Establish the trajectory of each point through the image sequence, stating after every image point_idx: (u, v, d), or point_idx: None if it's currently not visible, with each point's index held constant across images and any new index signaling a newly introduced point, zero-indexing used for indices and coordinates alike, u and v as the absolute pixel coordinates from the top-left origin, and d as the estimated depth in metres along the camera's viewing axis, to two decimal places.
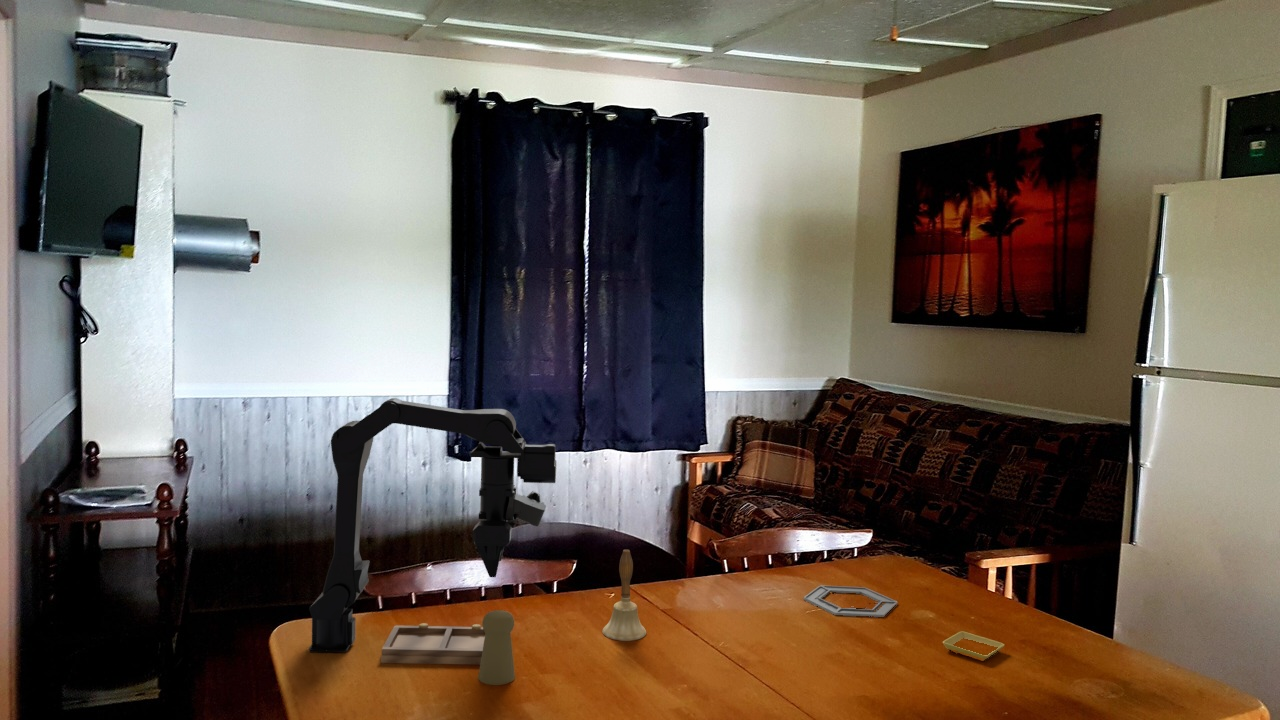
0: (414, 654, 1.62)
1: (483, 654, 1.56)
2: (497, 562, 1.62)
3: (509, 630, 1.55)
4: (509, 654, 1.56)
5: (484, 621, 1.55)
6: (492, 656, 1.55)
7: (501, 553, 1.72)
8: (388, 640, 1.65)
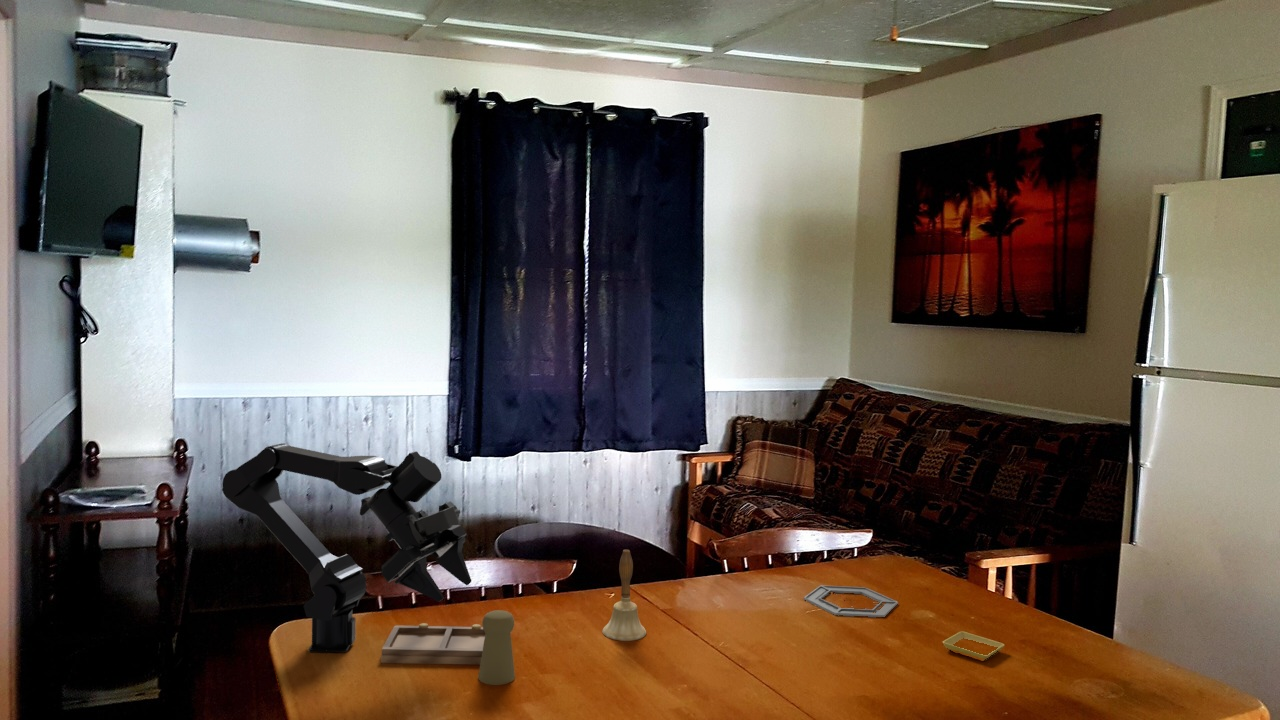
0: (414, 654, 1.62)
1: (483, 654, 1.56)
2: (431, 584, 1.54)
3: (509, 630, 1.55)
4: (509, 654, 1.56)
5: (484, 621, 1.55)
6: (492, 656, 1.55)
7: (466, 575, 1.63)
8: (388, 640, 1.65)
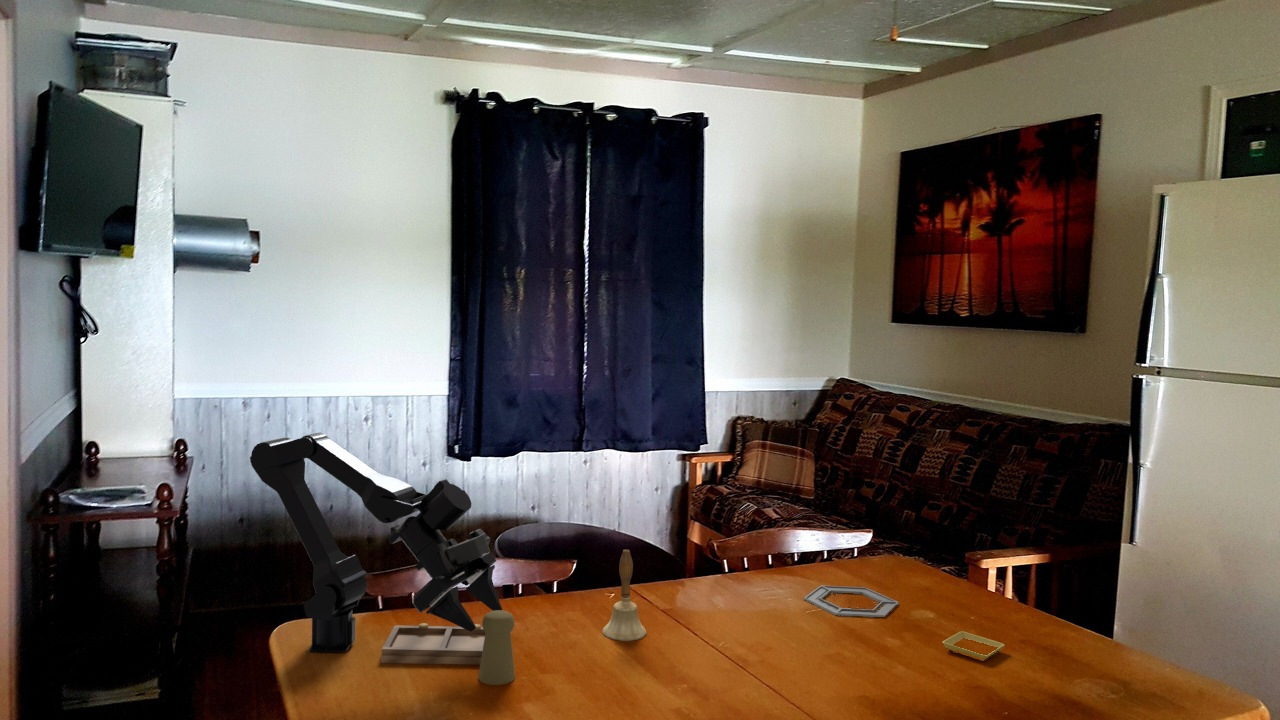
0: (414, 654, 1.62)
1: (483, 654, 1.56)
2: (463, 614, 1.52)
3: (509, 630, 1.55)
4: (509, 654, 1.56)
5: (484, 621, 1.55)
6: (492, 656, 1.55)
7: (496, 603, 1.61)
8: (388, 640, 1.65)
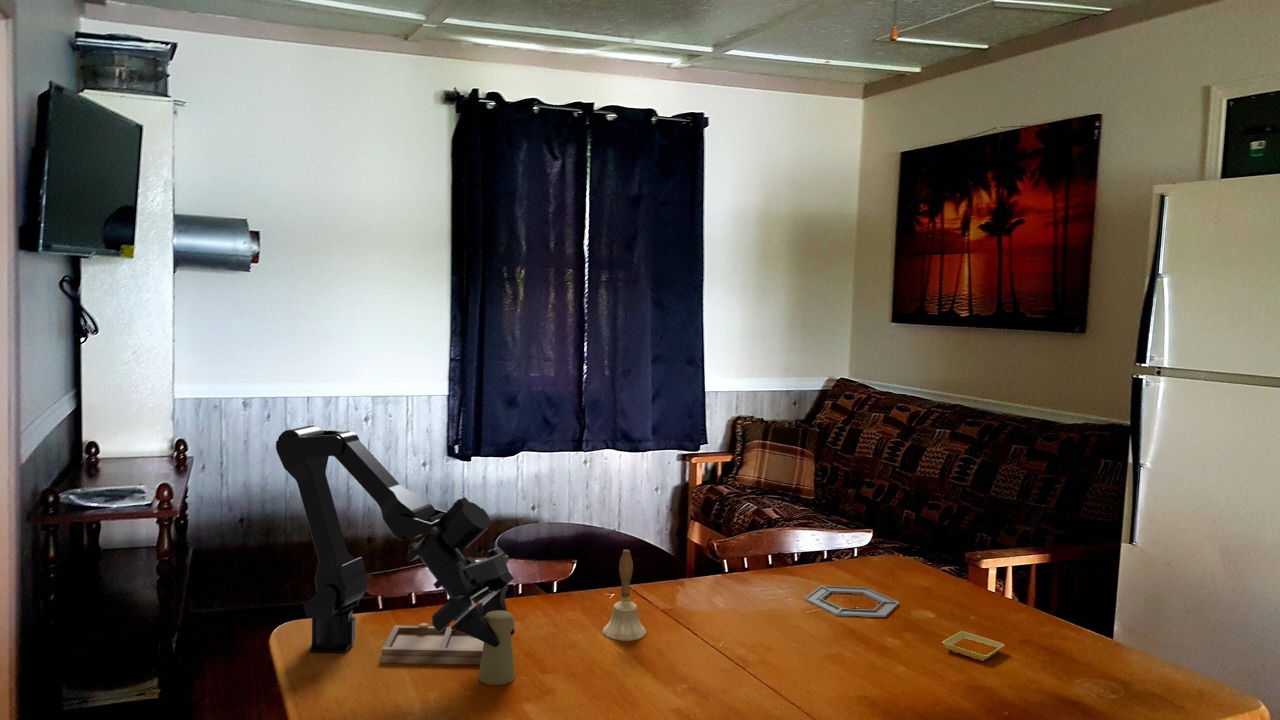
0: (414, 654, 1.62)
1: (483, 654, 1.56)
2: (487, 630, 1.53)
3: (509, 630, 1.55)
4: (509, 654, 1.56)
5: None
6: (492, 656, 1.55)
7: None
8: (388, 640, 1.65)
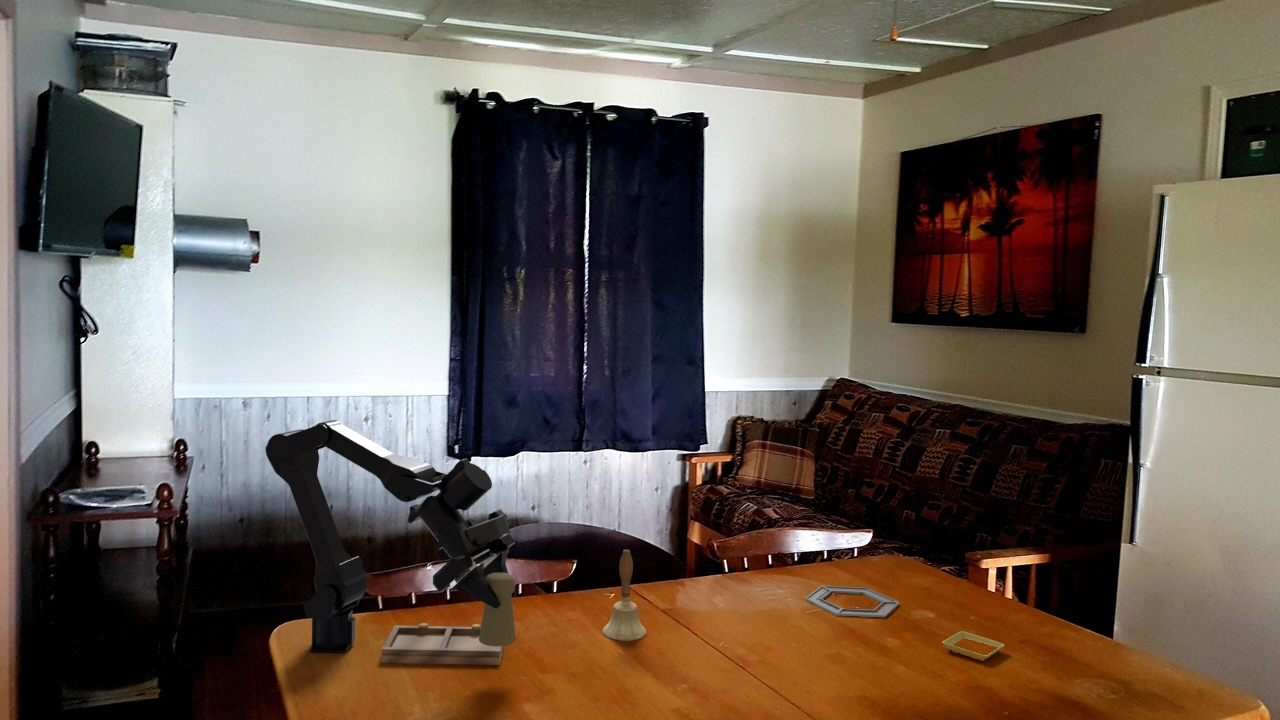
0: (414, 654, 1.62)
1: (484, 616, 1.55)
2: (488, 591, 1.53)
3: (510, 591, 1.55)
4: (510, 616, 1.55)
5: None
6: (493, 618, 1.54)
7: None
8: (388, 640, 1.65)
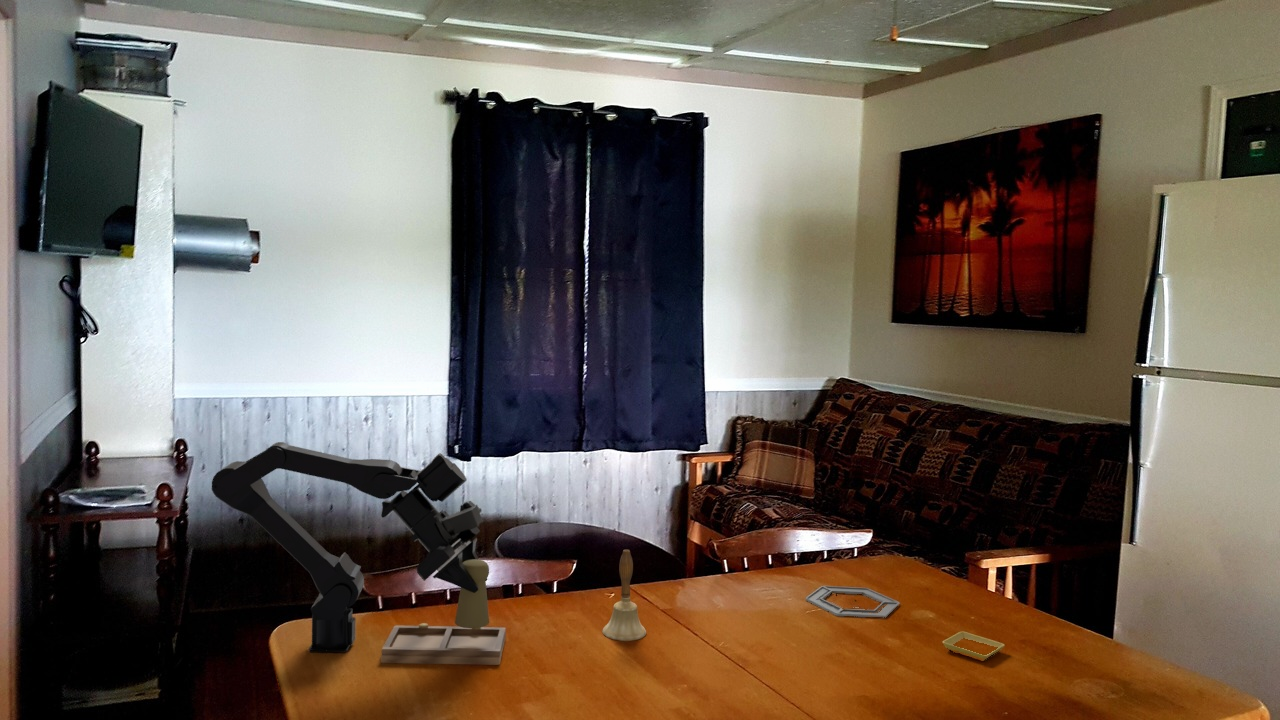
0: (414, 654, 1.62)
1: (461, 600, 1.66)
2: (467, 577, 1.63)
3: (486, 576, 1.66)
4: (485, 599, 1.67)
5: None
6: (470, 601, 1.65)
7: None
8: (388, 640, 1.65)
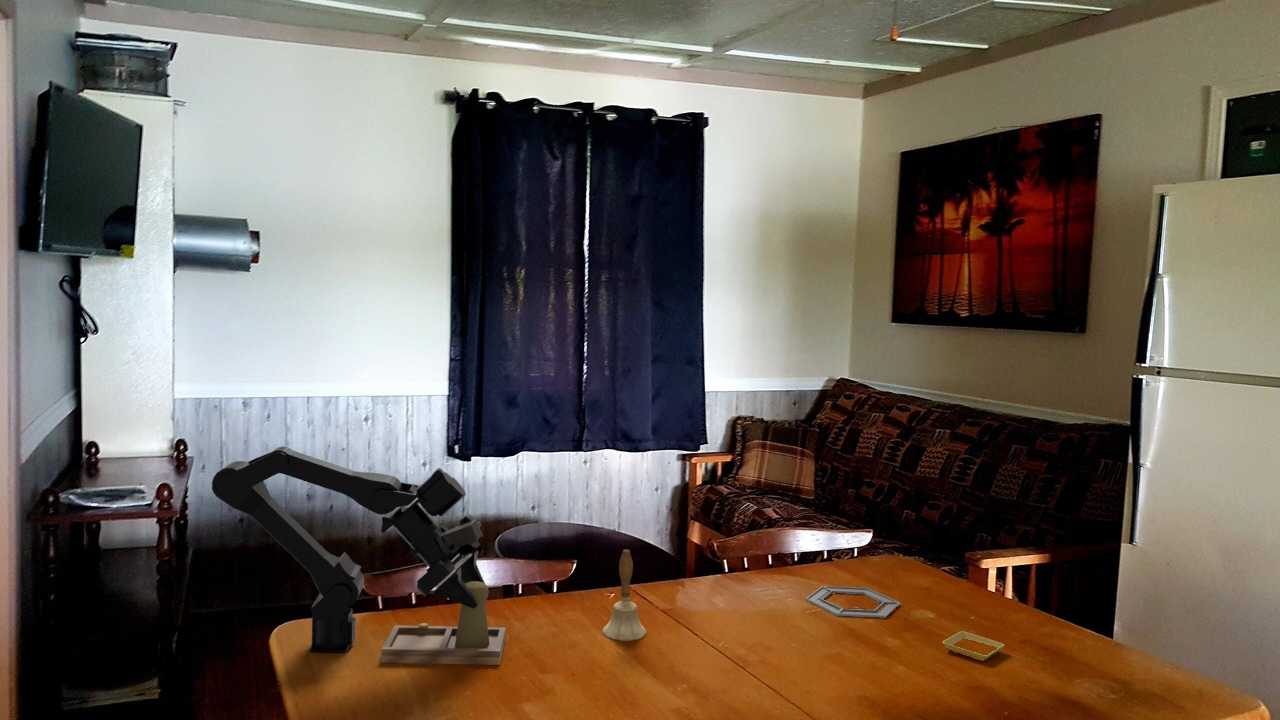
0: (414, 654, 1.62)
1: (460, 623, 1.66)
2: (466, 593, 1.63)
3: (485, 598, 1.66)
4: (485, 621, 1.67)
5: None
6: (470, 624, 1.65)
7: None
8: (388, 640, 1.65)
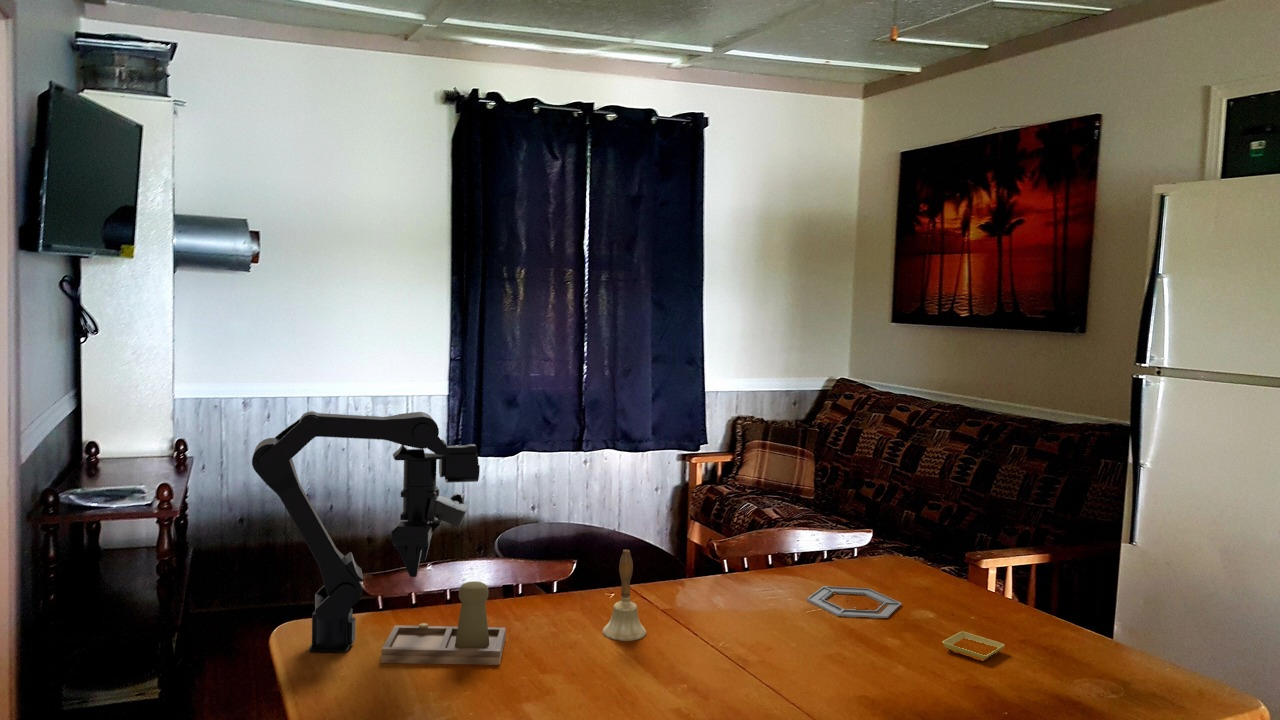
0: (414, 654, 1.62)
1: (460, 623, 1.66)
2: (417, 562, 1.66)
3: (485, 598, 1.66)
4: (485, 621, 1.67)
5: (461, 592, 1.65)
6: (470, 624, 1.65)
7: (425, 553, 1.76)
8: (388, 640, 1.65)
